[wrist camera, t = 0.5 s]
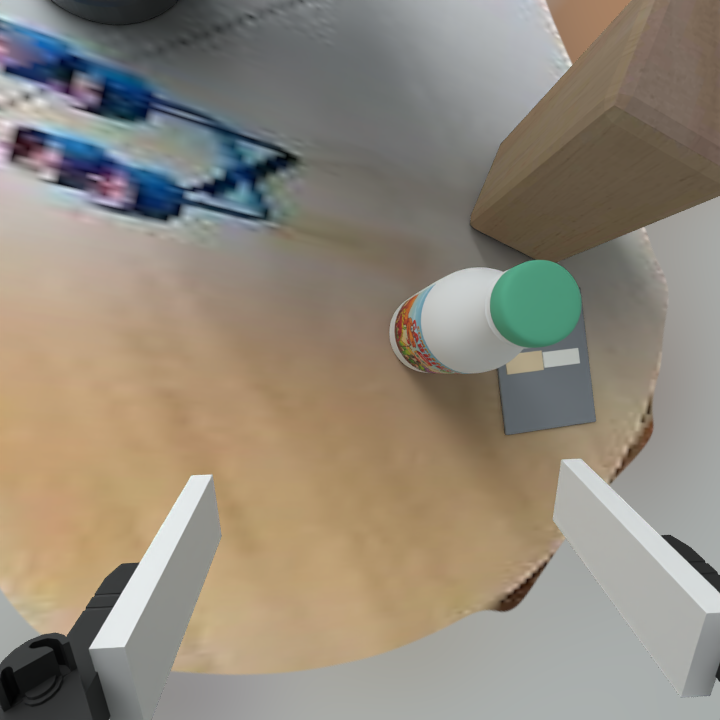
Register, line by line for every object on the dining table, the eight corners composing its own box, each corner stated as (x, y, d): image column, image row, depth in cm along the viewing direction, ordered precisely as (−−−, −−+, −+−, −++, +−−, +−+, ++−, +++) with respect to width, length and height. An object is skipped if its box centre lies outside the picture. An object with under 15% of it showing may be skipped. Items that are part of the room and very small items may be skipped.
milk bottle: (412, 279, 41) (519, 198, 21) (476, 321, 42) (636, 279, 22) (373, 346, 40) (446, 326, 21) (439, 387, 41) (569, 404, 22)
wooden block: (581, 184, 44) (812, 36, 24) (547, 270, 43) (758, 188, 24) (499, 140, 43) (673, -55, 23) (463, 227, 42) (610, 103, 22)
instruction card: (488, 296, 42) (490, 296, 42) (578, 288, 44) (580, 287, 43) (505, 434, 42) (507, 435, 42) (594, 420, 44) (596, 421, 43)
